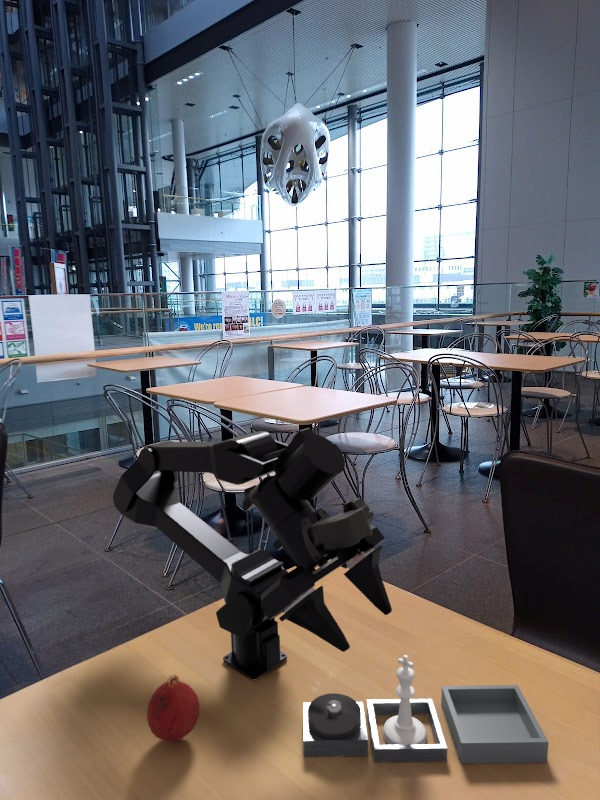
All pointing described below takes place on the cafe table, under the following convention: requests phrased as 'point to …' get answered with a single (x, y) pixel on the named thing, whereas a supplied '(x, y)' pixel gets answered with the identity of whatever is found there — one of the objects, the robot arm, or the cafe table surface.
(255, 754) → the cafe table surface
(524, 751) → the tray
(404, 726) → the chess piece
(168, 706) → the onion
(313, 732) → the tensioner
